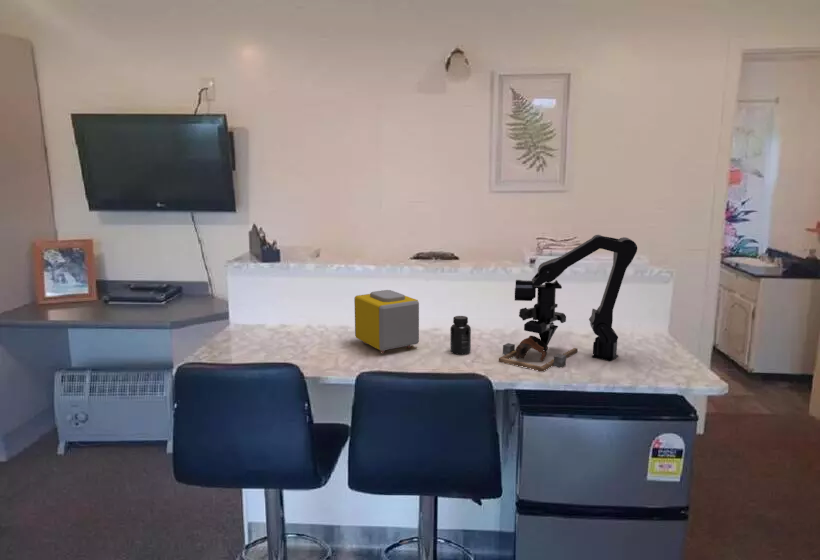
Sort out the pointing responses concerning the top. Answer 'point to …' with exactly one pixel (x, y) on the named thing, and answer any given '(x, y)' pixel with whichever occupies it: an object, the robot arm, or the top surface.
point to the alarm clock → (386, 319)
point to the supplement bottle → (460, 336)
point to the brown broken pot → (524, 347)
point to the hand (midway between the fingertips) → (544, 347)
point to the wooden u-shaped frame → (510, 352)
